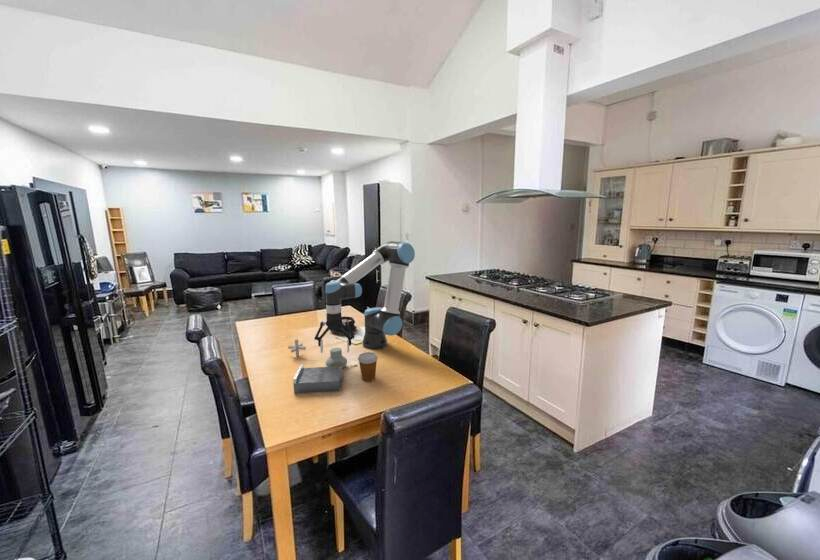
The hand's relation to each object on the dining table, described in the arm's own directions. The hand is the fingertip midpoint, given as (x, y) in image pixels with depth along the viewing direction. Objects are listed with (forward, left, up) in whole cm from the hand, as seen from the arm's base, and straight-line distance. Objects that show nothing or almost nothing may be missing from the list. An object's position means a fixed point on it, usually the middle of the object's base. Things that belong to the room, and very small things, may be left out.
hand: (335, 351), depth 181 cm
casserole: (+2, -60, -9) cm, 61 cm away
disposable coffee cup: (-17, +15, -9) cm, 25 cm away
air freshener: (0, 0, -9) cm, 9 cm away
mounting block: (+6, +18, -9) cm, 21 cm away
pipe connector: (+24, -18, -9) cm, 31 cm away
